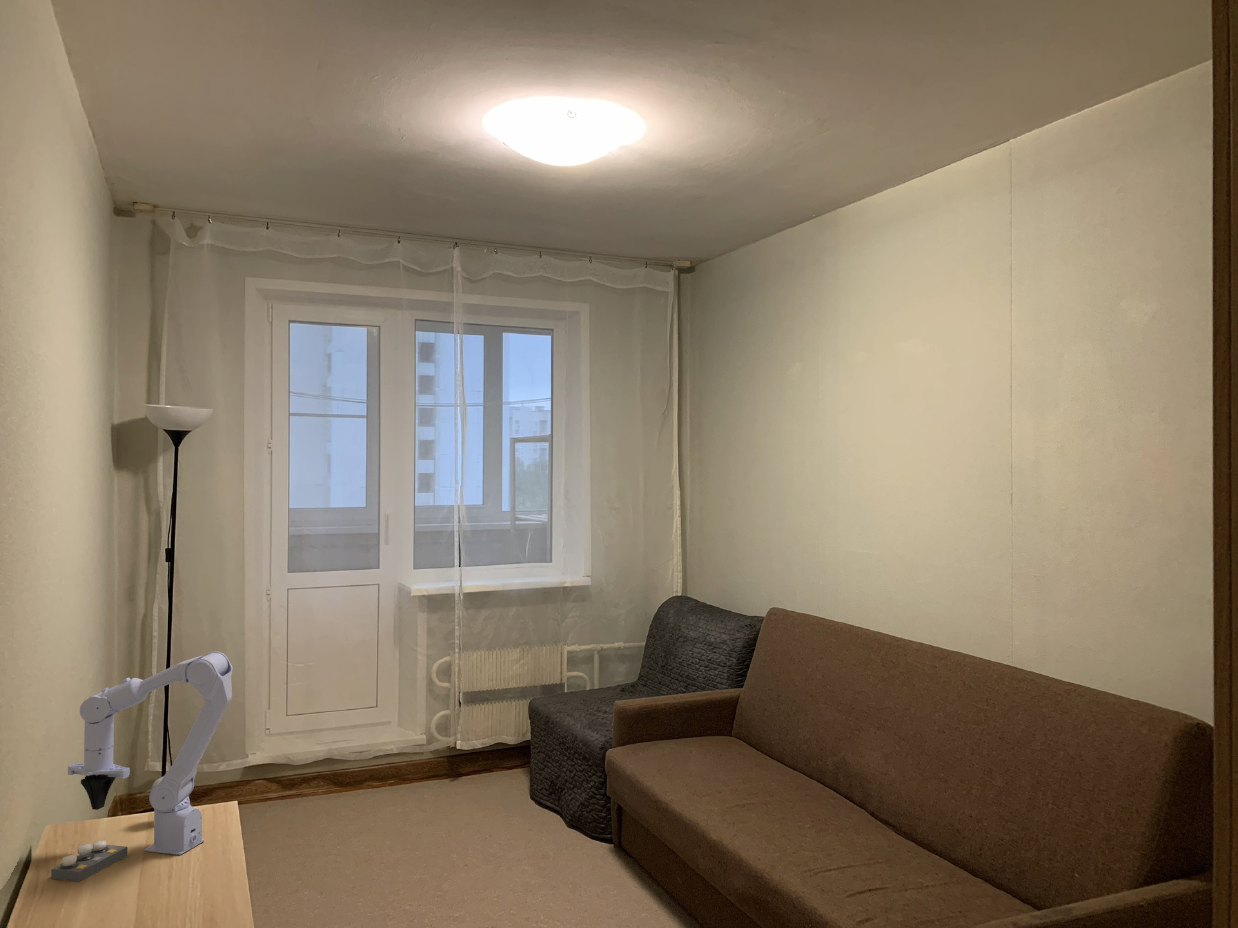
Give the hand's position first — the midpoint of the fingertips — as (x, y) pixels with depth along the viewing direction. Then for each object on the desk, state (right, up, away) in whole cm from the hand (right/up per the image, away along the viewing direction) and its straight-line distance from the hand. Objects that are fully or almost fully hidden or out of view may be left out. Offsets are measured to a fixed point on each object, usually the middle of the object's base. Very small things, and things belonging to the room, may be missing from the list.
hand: (98, 808), depth 199 cm
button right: (+4, -7, -6) cm, 10 cm away
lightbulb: (+7, -10, +15) cm, 19 cm away
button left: (+2, -6, -14) cm, 15 cm away
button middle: (+3, -6, -10) cm, 12 cm away
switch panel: (+4, -9, -9) cm, 14 cm away
